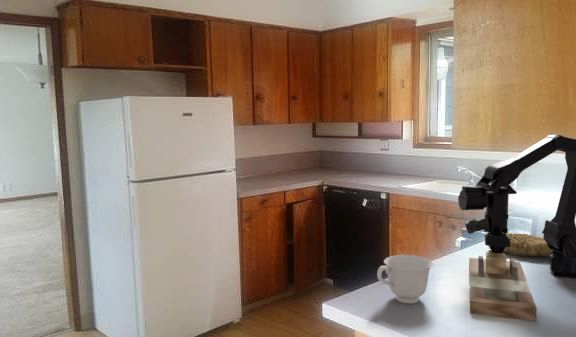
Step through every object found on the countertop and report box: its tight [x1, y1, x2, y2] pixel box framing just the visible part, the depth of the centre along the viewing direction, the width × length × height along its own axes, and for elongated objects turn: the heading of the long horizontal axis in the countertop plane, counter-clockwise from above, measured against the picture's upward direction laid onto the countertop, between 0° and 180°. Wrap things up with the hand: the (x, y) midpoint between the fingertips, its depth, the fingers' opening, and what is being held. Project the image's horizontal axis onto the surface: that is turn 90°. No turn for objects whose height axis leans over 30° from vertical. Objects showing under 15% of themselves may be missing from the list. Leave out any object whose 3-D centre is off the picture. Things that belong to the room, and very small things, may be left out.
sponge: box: [488, 232, 553, 257], centre depth 157 cm, size 13×8×20 cm
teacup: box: [376, 254, 434, 305], centre depth 120 cm, size 12×15×10 cm
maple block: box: [485, 251, 507, 275], centre depth 131 cm, size 5×5×4 cm
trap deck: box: [468, 255, 537, 322], centre depth 125 cm, size 14×35×6 cm, turn 159°
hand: (495, 262), depth 136 cm, fingers closed
